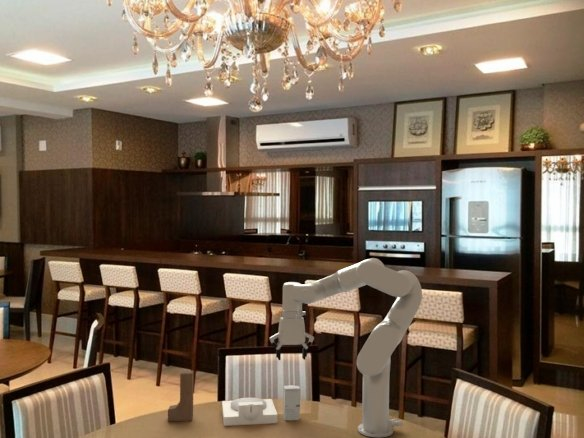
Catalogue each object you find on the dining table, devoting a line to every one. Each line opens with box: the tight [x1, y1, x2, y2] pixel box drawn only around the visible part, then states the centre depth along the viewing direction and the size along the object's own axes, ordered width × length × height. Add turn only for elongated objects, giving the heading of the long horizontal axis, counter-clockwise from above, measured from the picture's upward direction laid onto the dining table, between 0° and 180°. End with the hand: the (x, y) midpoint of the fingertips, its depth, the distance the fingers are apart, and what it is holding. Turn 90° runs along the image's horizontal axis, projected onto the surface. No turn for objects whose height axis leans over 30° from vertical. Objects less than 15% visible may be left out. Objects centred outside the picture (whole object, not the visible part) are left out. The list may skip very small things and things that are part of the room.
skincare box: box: [282, 384, 301, 421], centre depth 208 cm, size 6×4×12 cm
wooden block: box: [167, 370, 195, 422], centre depth 206 cm, size 9×4×18 cm, turn 93°
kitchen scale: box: [221, 397, 279, 427], centre depth 210 cm, size 20×18×8 cm
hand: (291, 359), depth 208 cm, fingers open, 9 cm apart
